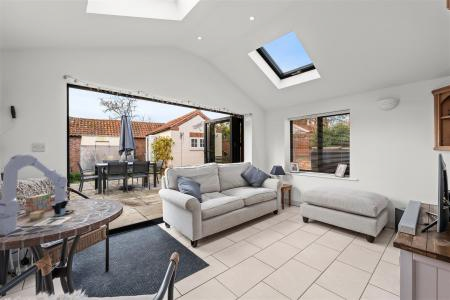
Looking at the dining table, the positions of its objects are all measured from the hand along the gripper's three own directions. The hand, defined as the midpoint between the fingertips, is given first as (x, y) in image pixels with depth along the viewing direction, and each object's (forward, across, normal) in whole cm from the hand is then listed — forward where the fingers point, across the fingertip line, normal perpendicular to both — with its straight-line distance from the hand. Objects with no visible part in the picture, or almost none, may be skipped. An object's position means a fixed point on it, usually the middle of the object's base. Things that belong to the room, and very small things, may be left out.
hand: (59, 212), depth 133 cm
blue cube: (+2, 0, 0) cm, 2 cm away
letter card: (+2, -13, -4) cm, 14 cm away
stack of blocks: (+2, +16, +19) cm, 25 cm away
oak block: (+2, -6, +10) cm, 12 cm away
